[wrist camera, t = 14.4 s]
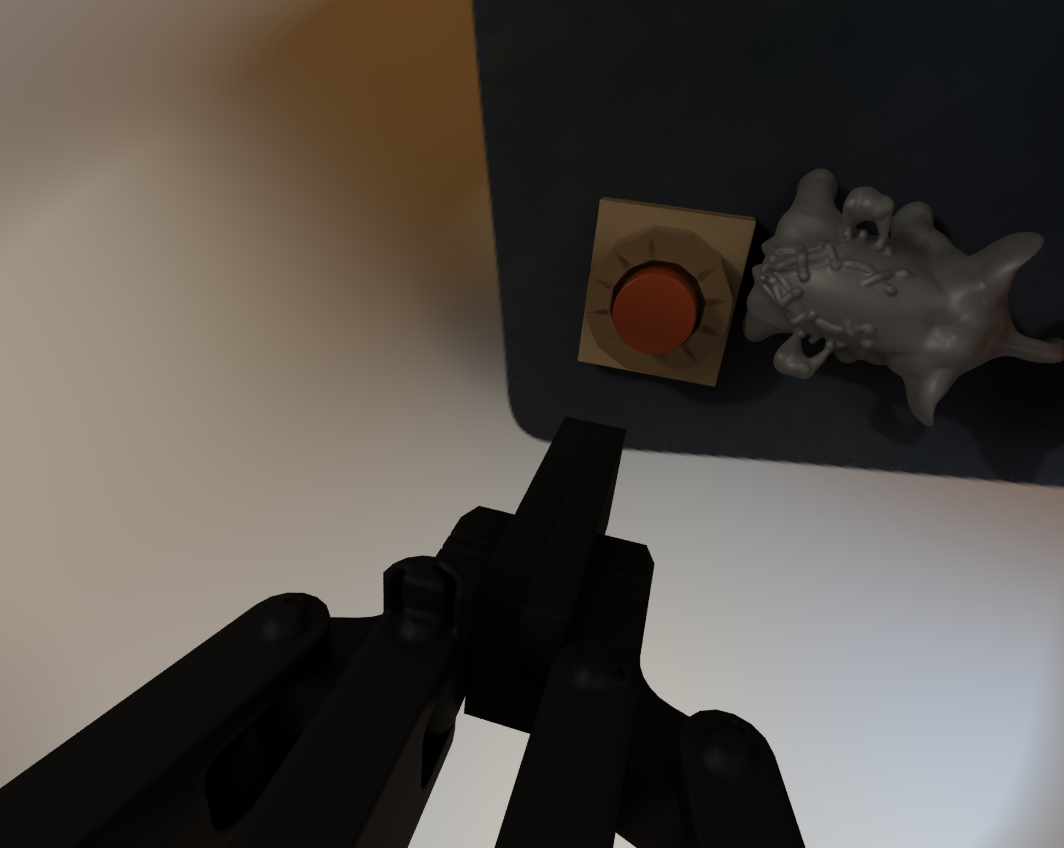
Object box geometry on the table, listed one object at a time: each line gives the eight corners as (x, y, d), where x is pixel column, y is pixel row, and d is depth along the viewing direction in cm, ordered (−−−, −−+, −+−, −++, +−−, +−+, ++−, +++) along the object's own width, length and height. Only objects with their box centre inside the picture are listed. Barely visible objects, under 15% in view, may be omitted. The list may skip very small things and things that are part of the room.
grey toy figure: (748, 170, 29) (756, 190, 22) (1070, 148, 25) (1193, 162, 19) (739, 367, 33) (743, 434, 26) (1017, 369, 29) (1103, 446, 23)
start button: (624, 259, 29) (619, 268, 28) (705, 272, 28) (704, 281, 27) (612, 335, 31) (606, 347, 29) (688, 348, 30) (686, 361, 29)
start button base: (604, 196, 31) (593, 204, 28) (755, 217, 29) (758, 228, 27) (582, 353, 34) (570, 373, 32) (715, 378, 33) (714, 401, 30)
